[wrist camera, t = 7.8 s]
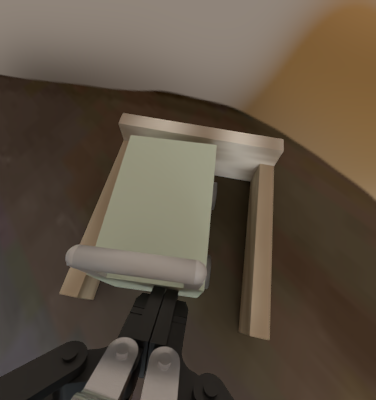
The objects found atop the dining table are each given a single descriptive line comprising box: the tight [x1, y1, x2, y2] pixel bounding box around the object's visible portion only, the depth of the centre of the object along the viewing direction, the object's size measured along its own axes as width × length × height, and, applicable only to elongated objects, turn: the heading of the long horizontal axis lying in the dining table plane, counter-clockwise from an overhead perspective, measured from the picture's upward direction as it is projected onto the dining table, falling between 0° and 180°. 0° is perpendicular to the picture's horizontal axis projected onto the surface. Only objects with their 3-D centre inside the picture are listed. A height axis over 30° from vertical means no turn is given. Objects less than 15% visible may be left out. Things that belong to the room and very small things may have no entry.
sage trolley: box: [66, 135, 217, 298], centre depth 15 cm, size 8×10×10 cm
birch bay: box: [59, 113, 283, 340], centre depth 18 cm, size 13×14×5 cm
